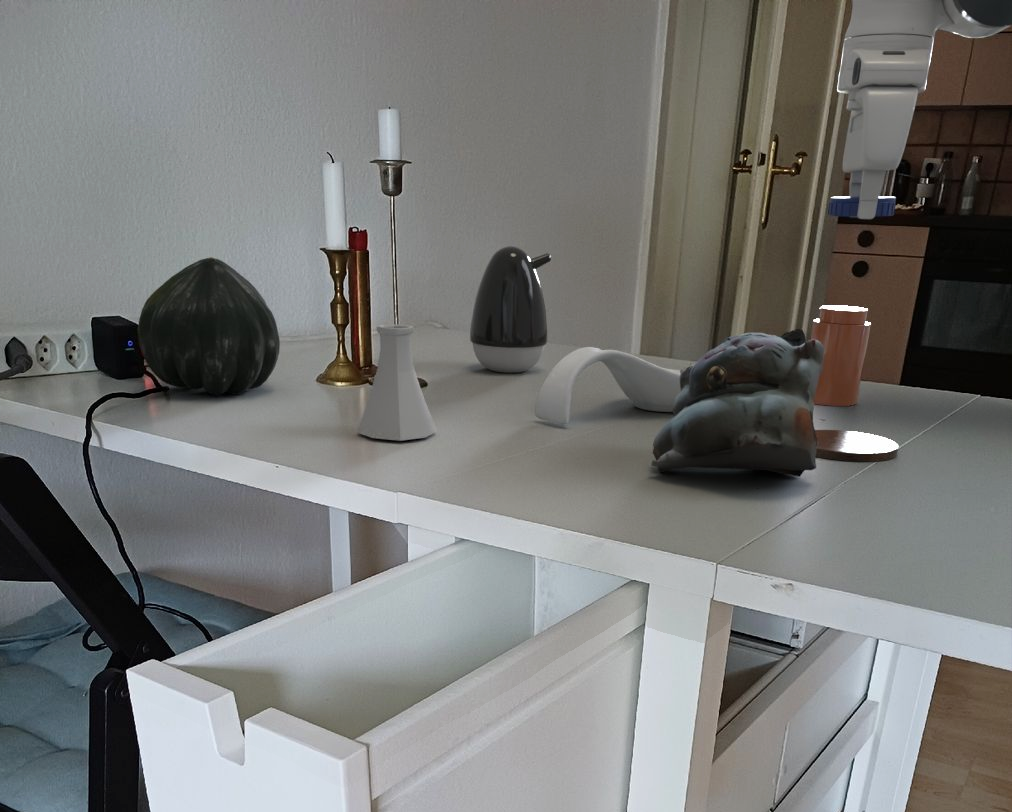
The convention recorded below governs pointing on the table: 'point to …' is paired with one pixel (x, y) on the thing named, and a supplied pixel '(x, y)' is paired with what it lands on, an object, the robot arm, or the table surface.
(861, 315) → the jar
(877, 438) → the coaster
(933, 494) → the table surface
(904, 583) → the table surface
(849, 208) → the jar lid
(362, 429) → the flask
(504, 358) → the pump dispenser
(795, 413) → the lucky cat figurine
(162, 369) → the squash
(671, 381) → the spoon rest
